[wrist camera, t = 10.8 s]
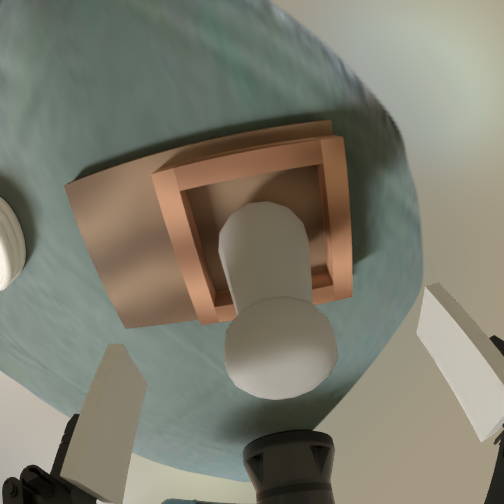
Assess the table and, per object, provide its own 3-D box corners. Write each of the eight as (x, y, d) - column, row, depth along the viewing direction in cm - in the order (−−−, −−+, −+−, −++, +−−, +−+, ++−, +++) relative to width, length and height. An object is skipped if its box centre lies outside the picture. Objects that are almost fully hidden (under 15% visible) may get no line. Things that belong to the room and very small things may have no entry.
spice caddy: (339, 283, 25) (352, 306, 22) (129, 318, 26) (119, 343, 23) (325, 119, 19) (341, 121, 16) (73, 180, 20) (50, 193, 17)
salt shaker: (312, 207, 20) (394, 332, 9) (283, 274, 23) (319, 422, 11) (234, 181, 19) (228, 295, 8) (210, 253, 22) (188, 405, 10)
